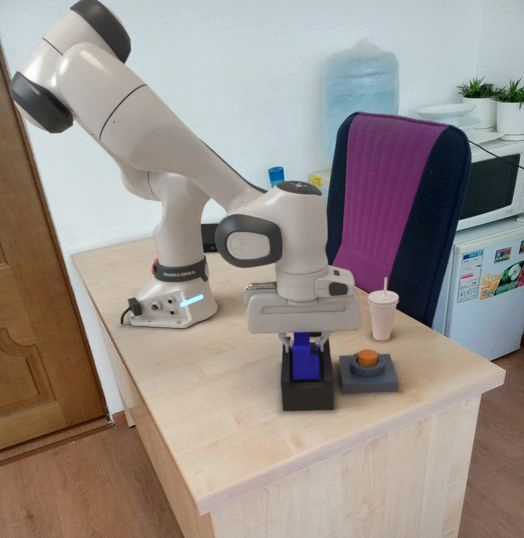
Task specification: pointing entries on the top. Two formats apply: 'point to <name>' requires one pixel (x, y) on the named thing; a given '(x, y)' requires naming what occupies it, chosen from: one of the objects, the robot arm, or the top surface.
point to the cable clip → (304, 358)
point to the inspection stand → (308, 383)
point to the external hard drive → (209, 237)
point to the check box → (367, 375)
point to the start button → (367, 357)
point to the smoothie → (382, 312)
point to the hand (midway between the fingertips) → (304, 350)
